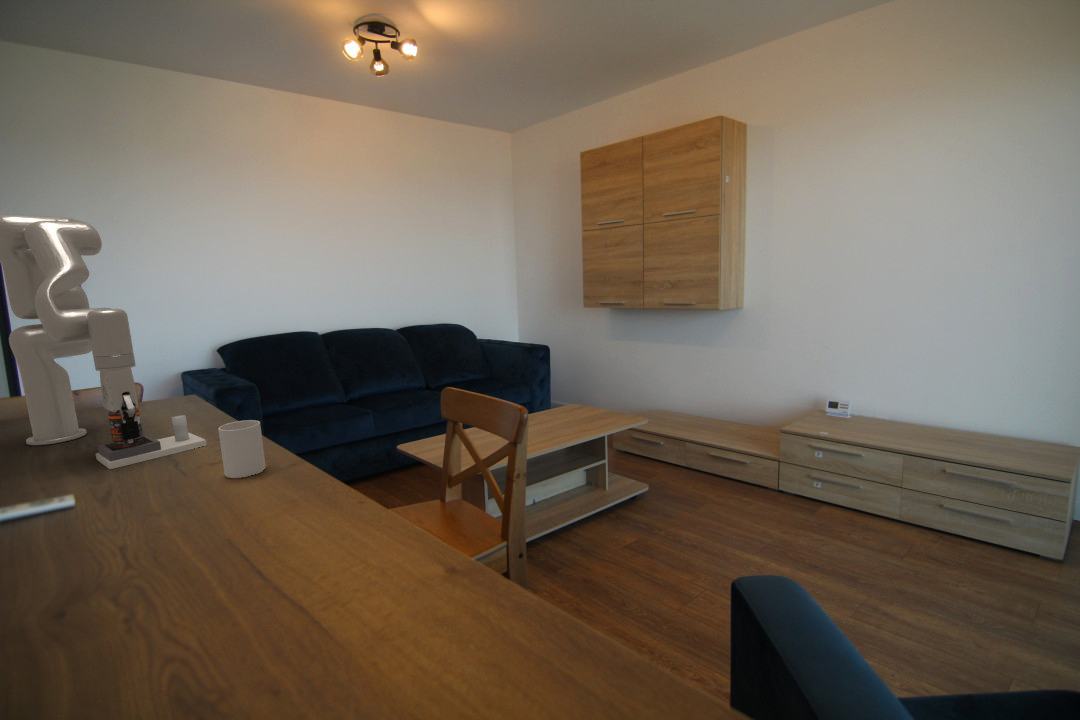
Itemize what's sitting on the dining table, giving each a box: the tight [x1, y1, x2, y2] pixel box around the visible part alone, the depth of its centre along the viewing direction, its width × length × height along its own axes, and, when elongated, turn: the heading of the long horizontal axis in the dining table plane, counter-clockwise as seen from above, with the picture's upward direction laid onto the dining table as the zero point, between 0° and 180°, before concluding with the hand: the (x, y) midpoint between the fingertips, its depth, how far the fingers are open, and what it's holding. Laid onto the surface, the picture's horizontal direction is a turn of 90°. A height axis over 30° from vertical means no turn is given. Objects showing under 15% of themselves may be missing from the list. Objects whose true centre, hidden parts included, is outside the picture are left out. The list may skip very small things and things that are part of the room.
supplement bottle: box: [107, 407, 144, 449], centre depth 131 cm, size 6×6×11 cm
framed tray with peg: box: [95, 414, 207, 470], centre depth 135 cm, size 12×20×8 cm, turn 140°
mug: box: [217, 419, 266, 479], centre depth 119 cm, size 12×8×10 cm, turn 48°
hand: (127, 435), depth 131 cm, fingers closed on supplement bottle, 5 cm apart
